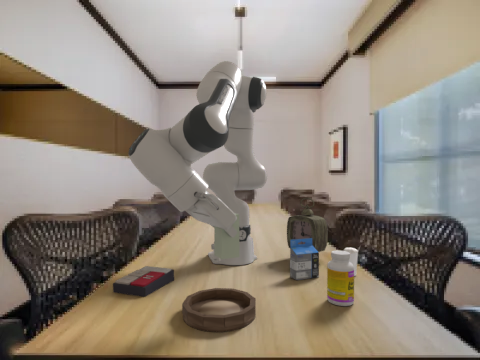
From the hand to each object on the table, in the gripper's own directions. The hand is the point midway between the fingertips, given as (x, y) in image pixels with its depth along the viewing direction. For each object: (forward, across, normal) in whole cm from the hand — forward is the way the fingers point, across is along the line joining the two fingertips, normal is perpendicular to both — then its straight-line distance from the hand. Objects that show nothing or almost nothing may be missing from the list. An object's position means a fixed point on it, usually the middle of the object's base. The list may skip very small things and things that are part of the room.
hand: (229, 233), depth 70 cm
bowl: (+12, +1, +15) cm, 19 cm away
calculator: (+3, +28, +24) cm, 37 cm away
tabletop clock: (+47, +30, -21) cm, 60 cm away
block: (+3, 0, +4) cm, 5 cm away
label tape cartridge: (+37, +13, -10) cm, 40 cm away
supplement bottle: (+34, -7, -7) cm, 35 cm away
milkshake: (+48, +8, -21) cm, 53 cm away
